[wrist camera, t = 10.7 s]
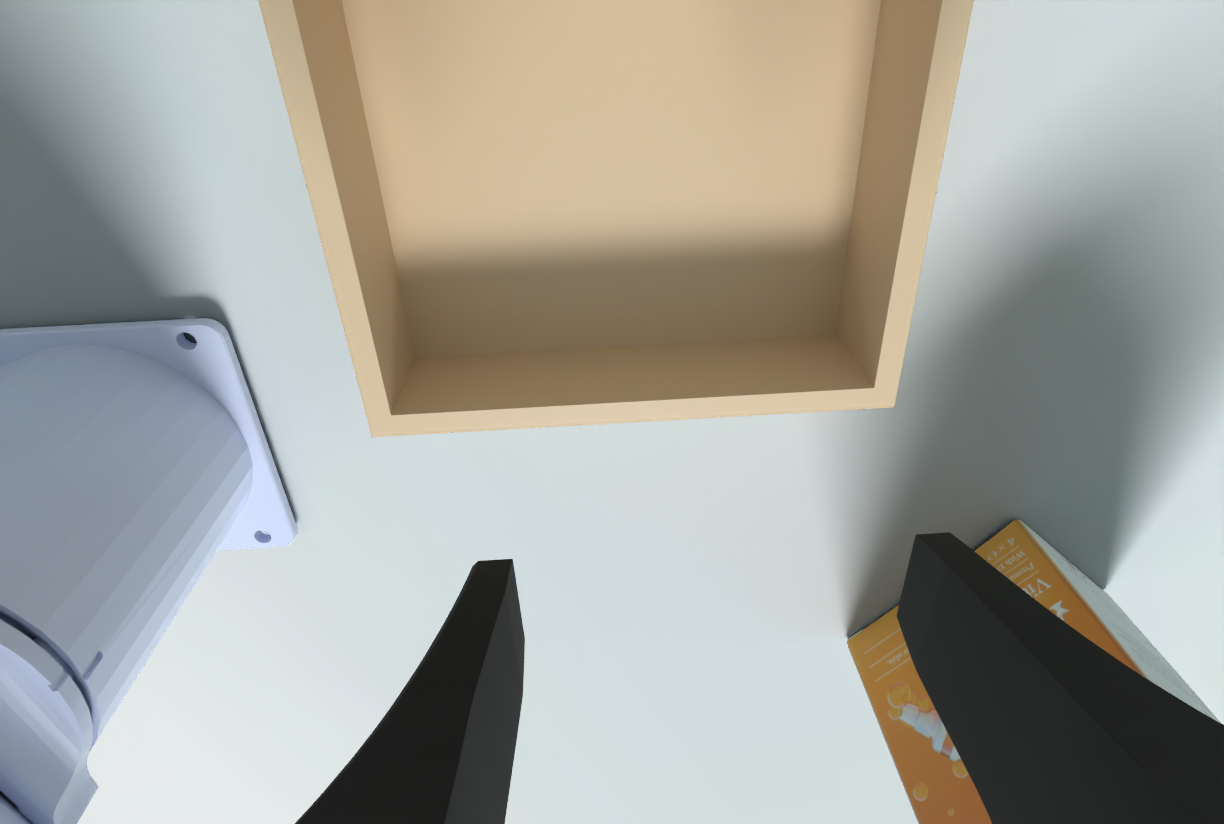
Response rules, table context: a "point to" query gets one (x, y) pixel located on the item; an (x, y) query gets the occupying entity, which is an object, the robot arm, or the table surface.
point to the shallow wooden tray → (619, 200)
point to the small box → (908, 713)
